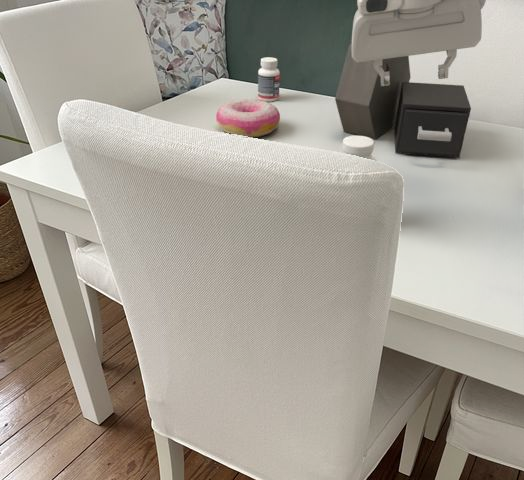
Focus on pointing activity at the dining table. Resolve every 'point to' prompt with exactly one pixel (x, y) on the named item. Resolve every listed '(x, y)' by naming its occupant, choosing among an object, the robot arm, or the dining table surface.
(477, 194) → the dining table surface
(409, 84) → the box
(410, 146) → the air fryer basket
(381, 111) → the dark brown block
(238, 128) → the donut
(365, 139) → the supplement bottle
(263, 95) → the pill bottle
